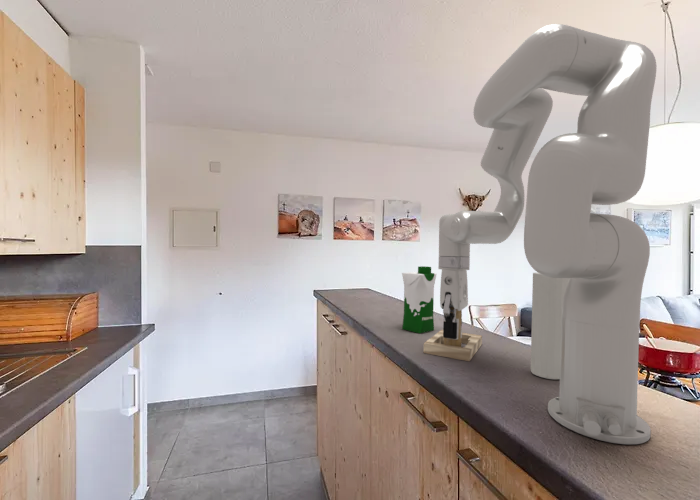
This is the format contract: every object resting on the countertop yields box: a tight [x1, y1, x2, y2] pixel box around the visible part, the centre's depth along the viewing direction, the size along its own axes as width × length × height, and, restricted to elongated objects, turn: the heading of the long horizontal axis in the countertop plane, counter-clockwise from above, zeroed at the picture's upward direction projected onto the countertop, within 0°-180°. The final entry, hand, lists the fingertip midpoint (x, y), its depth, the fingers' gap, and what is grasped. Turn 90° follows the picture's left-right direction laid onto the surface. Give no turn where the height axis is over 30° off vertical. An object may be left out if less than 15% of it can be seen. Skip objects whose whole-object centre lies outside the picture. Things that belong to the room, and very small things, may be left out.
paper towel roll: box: [530, 271, 570, 380], centre depth 70 cm, size 7×6×21 cm
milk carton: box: [401, 265, 437, 334], centre depth 106 cm, size 9×9×20 cm
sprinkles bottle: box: [444, 301, 463, 347], centre depth 85 cm, size 5×5×14 cm
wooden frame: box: [422, 329, 483, 362], centre depth 88 cm, size 16×11×2 cm
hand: (452, 335), depth 85 cm, fingers closed on sprinkles bottle, 4 cm apart
